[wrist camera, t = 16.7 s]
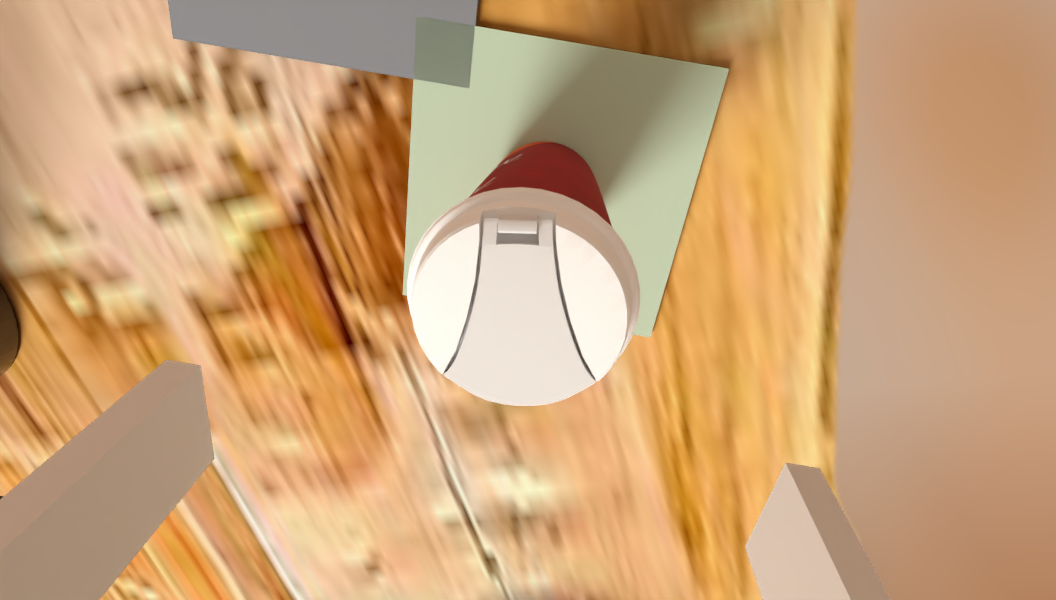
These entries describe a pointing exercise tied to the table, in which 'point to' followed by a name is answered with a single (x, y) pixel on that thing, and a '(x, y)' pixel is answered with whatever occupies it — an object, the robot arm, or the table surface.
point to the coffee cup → (525, 282)
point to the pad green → (567, 134)
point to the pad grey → (333, 31)
